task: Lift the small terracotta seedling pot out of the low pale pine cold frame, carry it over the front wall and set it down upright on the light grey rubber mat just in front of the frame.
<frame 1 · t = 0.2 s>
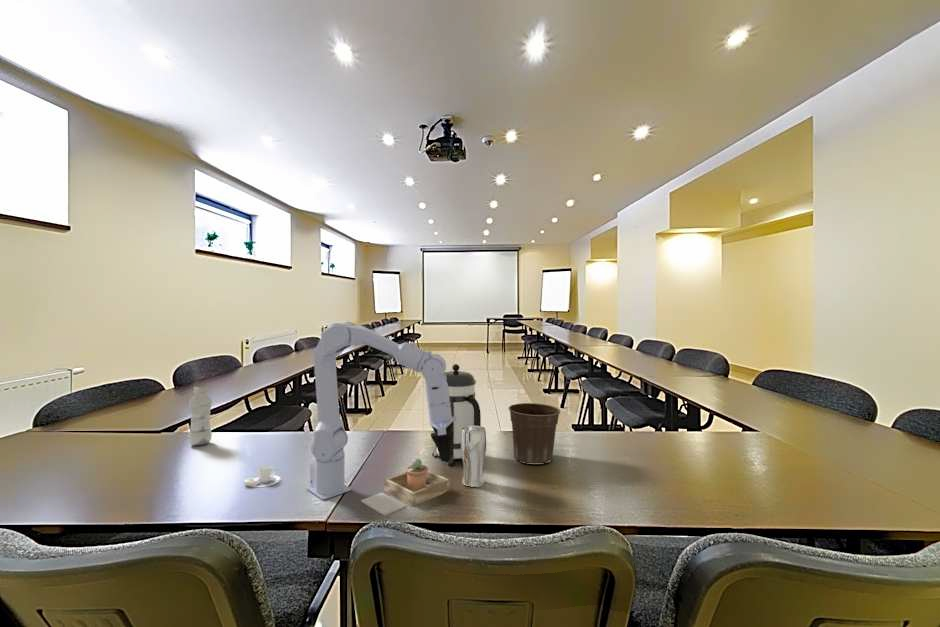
hand: (445, 454, 107), 10 cm above the table, tool pointing down, fingers open, 7 cm apart
plastic bottle: (200, 445, 144), on the table
silver drink can: (473, 483, 115), on the table
plant pot: (533, 459, 133), on the table
cold frame: (416, 490, 109), on the table
coffee press: (458, 459, 133), on the table
grey mat: (383, 504, 102), on the table
terracotta pot: (416, 491, 109), resting in cold frame
teacup and saucer: (255, 482, 116), on the table
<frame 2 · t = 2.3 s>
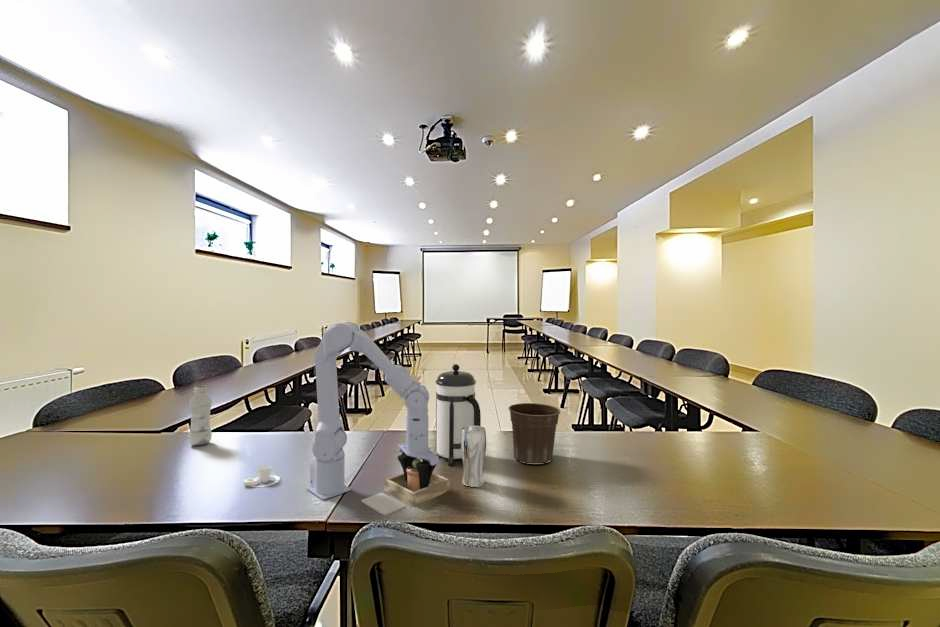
hand: (417, 484, 109), 2 cm above the table, tool pointing down, fingers closed on terracotta pot, 5 cm apart
terracotta pot: (416, 491, 109), resting in cold frame, touching gripper
everything else where it was.
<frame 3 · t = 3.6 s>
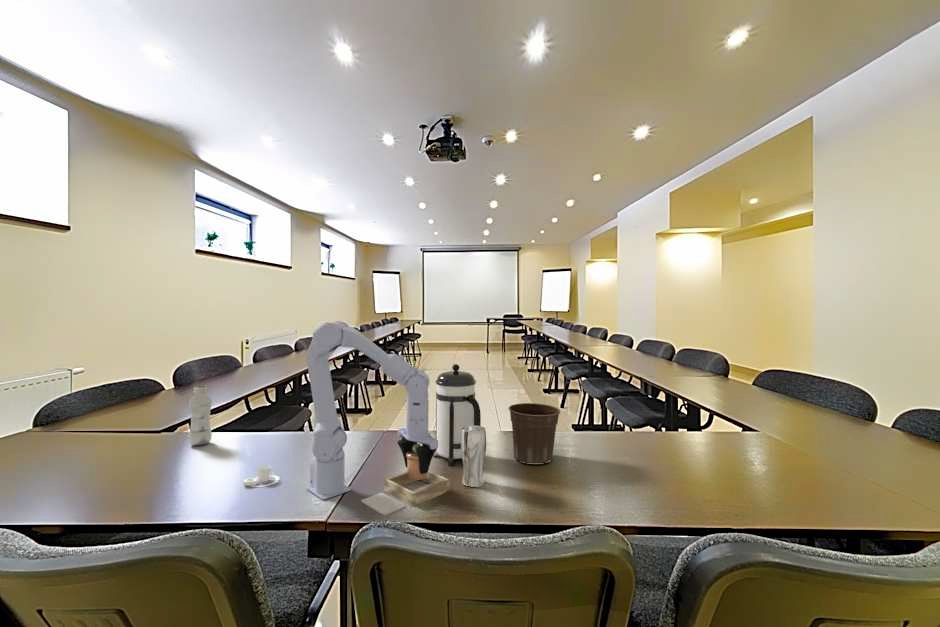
hand: (416, 469, 109), 6 cm above the table, tool pointing down, fingers closed on terracotta pot, 5 cm apart
terracotta pot: (417, 476, 109), point 4 cm above the table, touching gripper
everything else where it was.
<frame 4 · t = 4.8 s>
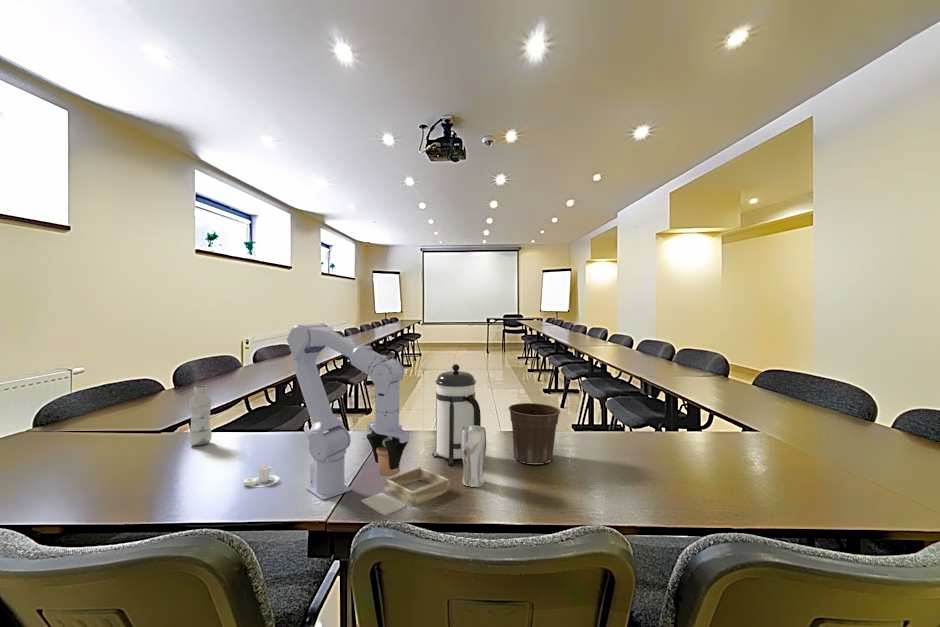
hand: (386, 465, 102), 9 cm above the table, tool pointing down, fingers closed on terracotta pot, 5 cm apart
terracotta pot: (389, 471, 103), point 8 cm above the table, touching gripper
everything else where it was.
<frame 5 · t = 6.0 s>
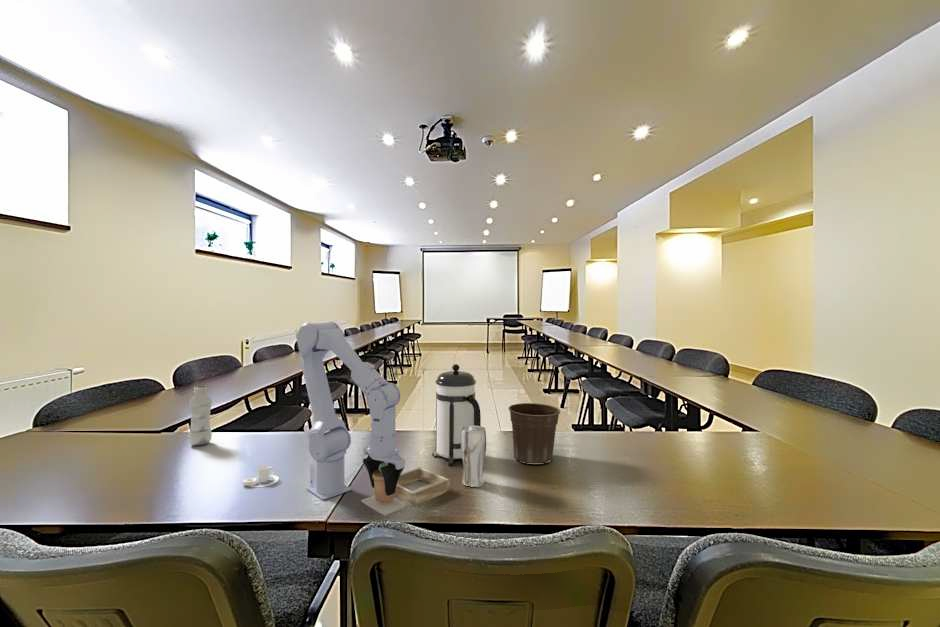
hand: (383, 490, 102), 3 cm above the table, tool pointing down, fingers closed on terracotta pot, 5 cm apart
terracotta pot: (385, 496, 102), point 2 cm above the table, touching gripper
everything else where it was.
when the fingers open (3 cm above the table, at t = 7.1 s): terracotta pot stays where it is, resting on grey mat.
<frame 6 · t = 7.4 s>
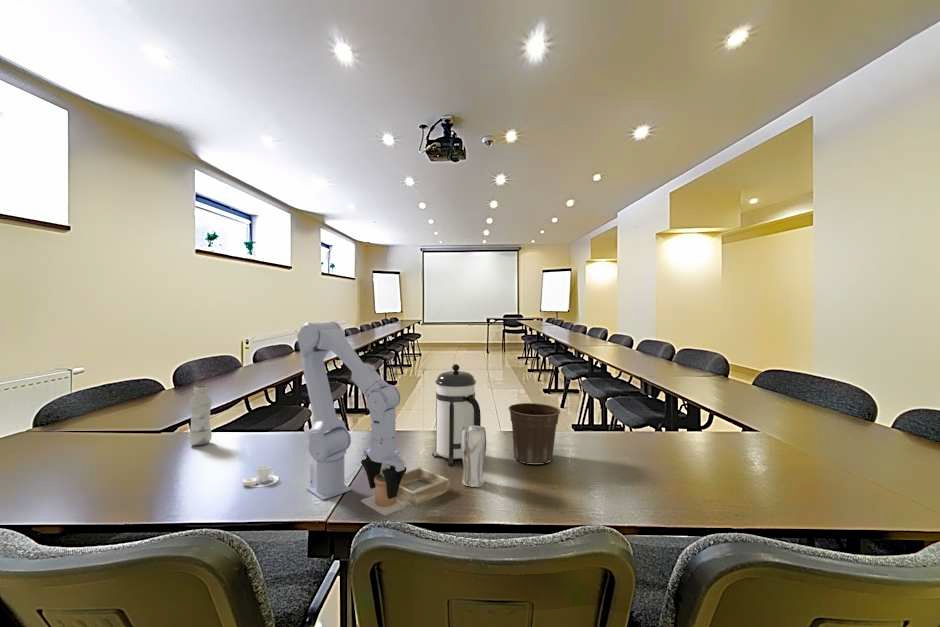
hand: (383, 492, 102), 3 cm above the table, tool pointing down, fingers open, 7 cm apart
terracotta pot: (385, 501, 102), resting on grey mat
everything else where it was.
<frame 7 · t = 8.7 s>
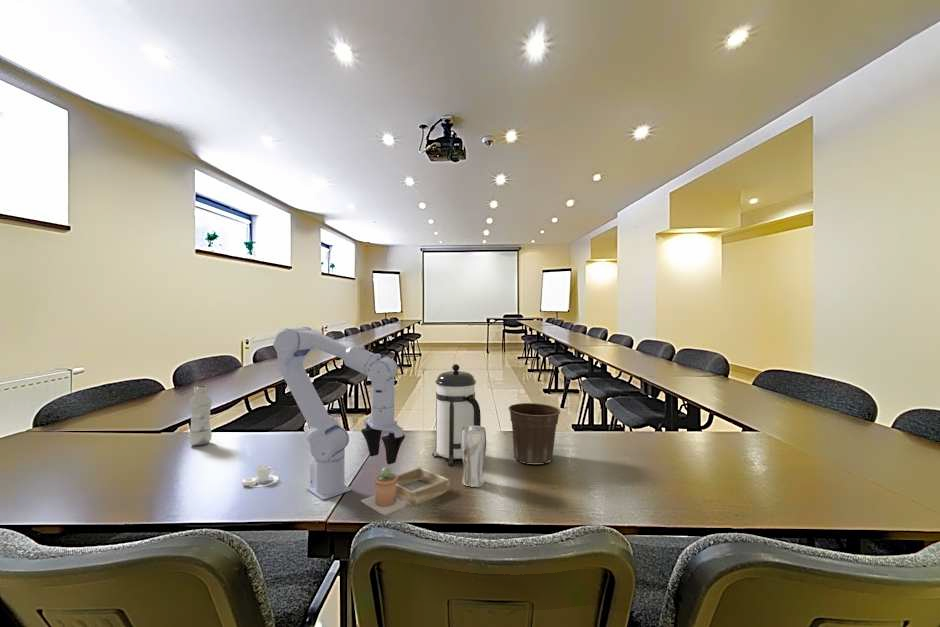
hand: (382, 459, 106), 9 cm above the table, tool pointing down, fingers open, 7 cm apart
nothing on the table moved.
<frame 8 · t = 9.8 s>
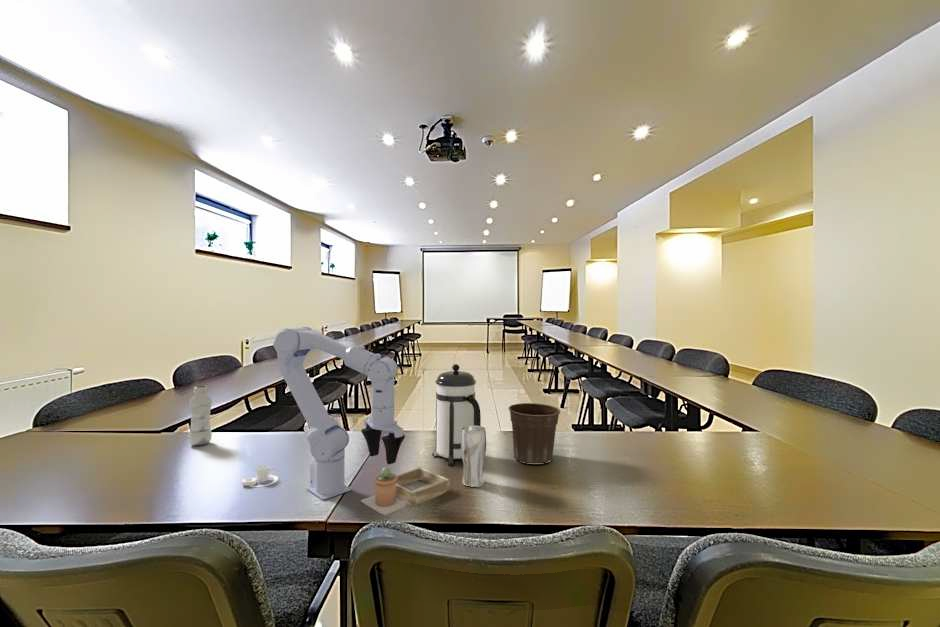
hand: (382, 459, 106), 9 cm above the table, tool pointing down, fingers open, 7 cm apart
nothing on the table moved.
at the end: terracotta pot 0.7 cm off-centre on the grey mat, point 0.4 cm above the grey mat's base; terracotta pot tilted 0°; the gripper is holding nothing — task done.
